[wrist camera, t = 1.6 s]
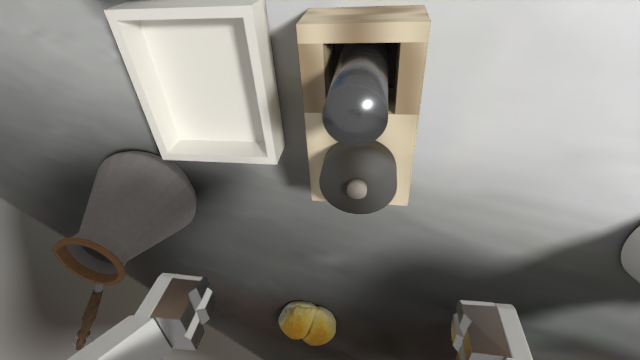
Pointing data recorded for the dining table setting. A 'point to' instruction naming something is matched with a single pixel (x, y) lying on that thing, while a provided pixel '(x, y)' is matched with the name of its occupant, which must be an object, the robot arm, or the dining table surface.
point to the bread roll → (307, 323)
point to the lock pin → (358, 95)
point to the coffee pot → (125, 221)
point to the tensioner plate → (403, 105)
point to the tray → (203, 77)
